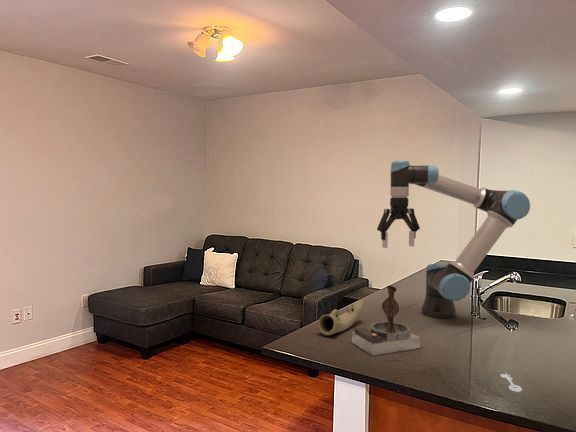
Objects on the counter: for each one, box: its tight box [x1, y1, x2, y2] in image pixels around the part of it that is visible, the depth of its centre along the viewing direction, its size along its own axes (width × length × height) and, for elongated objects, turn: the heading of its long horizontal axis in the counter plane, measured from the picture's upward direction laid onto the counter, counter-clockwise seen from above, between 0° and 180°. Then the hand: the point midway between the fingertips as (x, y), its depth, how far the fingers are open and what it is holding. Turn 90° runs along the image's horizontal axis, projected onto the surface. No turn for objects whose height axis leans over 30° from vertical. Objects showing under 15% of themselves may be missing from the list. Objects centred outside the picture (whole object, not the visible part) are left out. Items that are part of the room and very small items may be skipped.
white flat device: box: [351, 320, 421, 357], centre depth 161 cm, size 20×14×6 cm
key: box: [500, 373, 523, 393], centre depth 130 cm, size 12×1×3 cm
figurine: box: [381, 285, 400, 333], centre depth 162 cm, size 7×5×18 cm
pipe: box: [317, 299, 367, 336], centre depth 181 cm, size 28×8×10 cm, turn 145°
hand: (398, 247), depth 187 cm, fingers open, 13 cm apart
